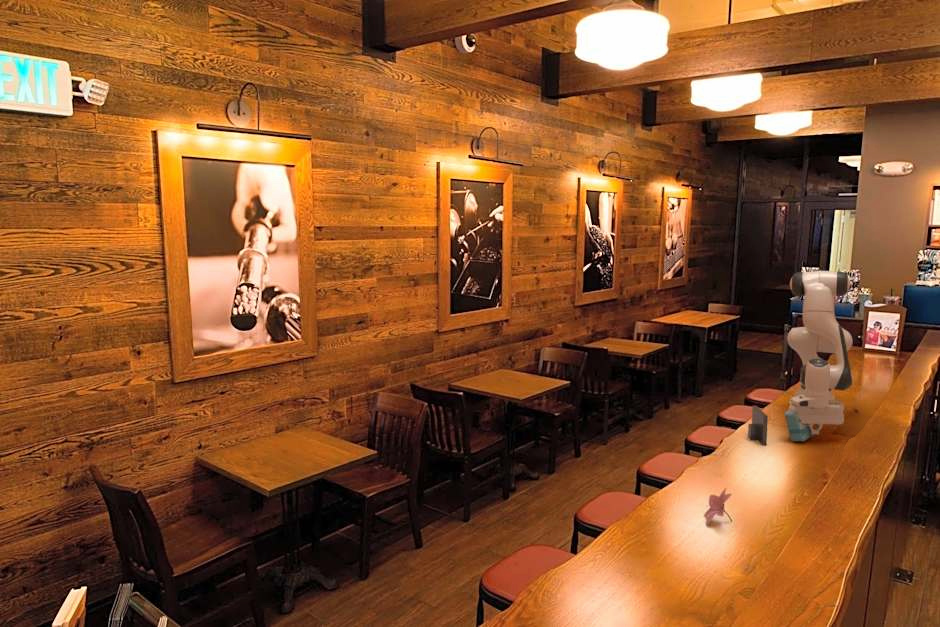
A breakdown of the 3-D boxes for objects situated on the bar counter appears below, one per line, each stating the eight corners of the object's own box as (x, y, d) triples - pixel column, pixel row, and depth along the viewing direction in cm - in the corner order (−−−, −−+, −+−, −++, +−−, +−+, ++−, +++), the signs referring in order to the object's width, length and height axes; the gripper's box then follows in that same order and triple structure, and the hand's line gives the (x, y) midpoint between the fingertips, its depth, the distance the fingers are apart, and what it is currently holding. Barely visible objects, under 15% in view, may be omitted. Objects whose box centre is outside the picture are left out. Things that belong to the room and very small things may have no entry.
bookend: (743, 433, 260) (745, 405, 258) (755, 433, 259) (756, 405, 258) (754, 445, 246) (755, 415, 244) (766, 445, 246) (767, 415, 244)
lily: (712, 511, 193) (698, 486, 192) (750, 507, 186) (735, 481, 184) (704, 538, 184) (689, 512, 183) (743, 535, 177) (727, 508, 175)
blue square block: (802, 441, 245) (795, 411, 246) (791, 442, 248) (783, 412, 249) (814, 434, 253) (807, 405, 253) (803, 435, 256) (796, 406, 257)
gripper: (840, 398, 249) (838, 432, 251) (786, 398, 251) (784, 431, 253) (848, 403, 243) (845, 437, 245) (792, 402, 245) (790, 436, 247)
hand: (814, 434), depth 249 cm, fingers closed
